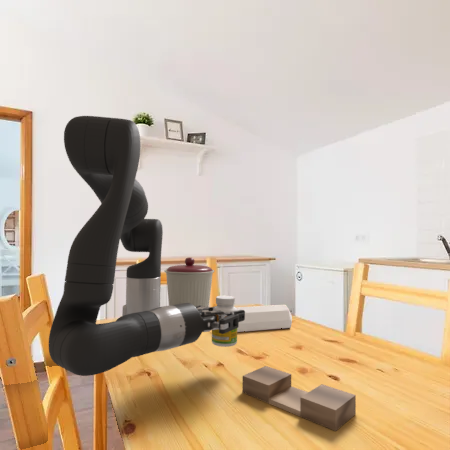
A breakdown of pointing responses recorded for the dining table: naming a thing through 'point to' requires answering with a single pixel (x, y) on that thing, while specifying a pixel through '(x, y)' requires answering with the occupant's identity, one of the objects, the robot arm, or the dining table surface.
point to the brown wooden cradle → (300, 397)
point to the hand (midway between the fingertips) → (232, 312)
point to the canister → (189, 283)
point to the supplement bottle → (226, 306)
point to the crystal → (265, 318)
